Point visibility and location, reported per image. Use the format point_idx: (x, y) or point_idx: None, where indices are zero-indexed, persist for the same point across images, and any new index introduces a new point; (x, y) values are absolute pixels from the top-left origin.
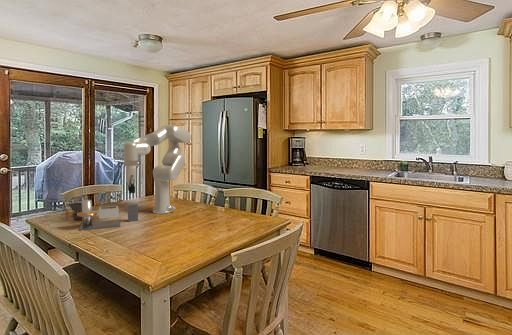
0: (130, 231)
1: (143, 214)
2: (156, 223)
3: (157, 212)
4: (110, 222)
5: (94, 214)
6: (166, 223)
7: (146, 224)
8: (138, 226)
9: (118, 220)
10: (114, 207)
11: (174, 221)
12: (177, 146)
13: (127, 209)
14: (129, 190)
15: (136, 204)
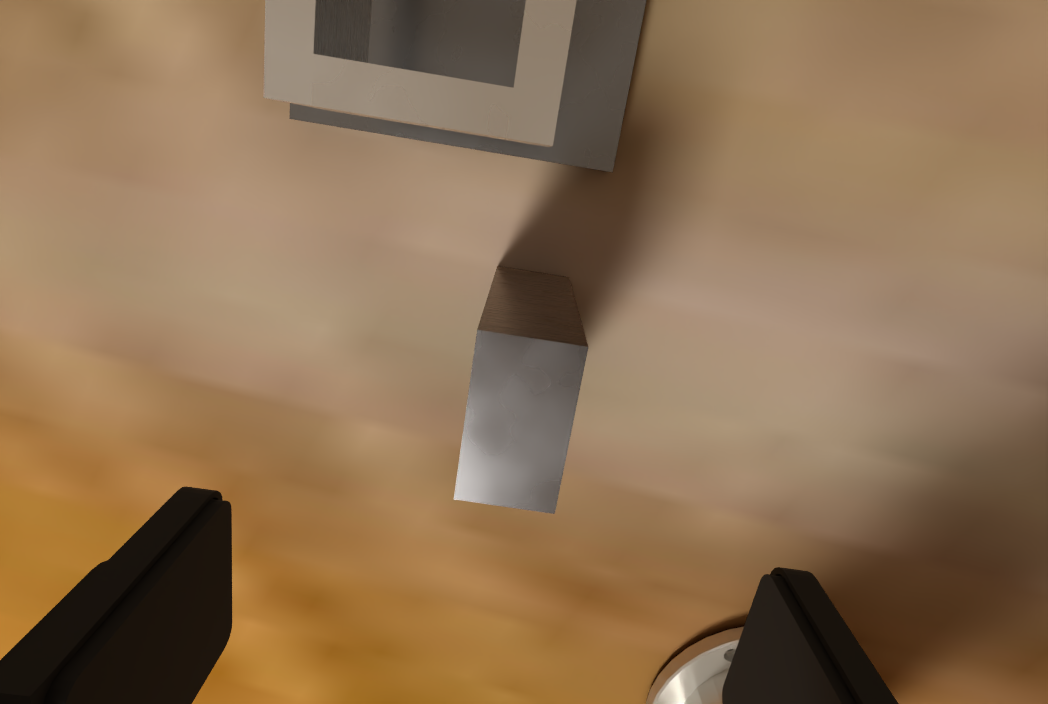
0: (14, 184)
1: (771, 515)
2: (258, 517)
3: (691, 656)
4: (498, 14)
5: None
6: None
7: (262, 419)
8: (210, 321)
9: (554, 149)
10: (519, 57)
11: (258, 674)
12: None
13: (572, 317)
14: (124, 552)
15: (482, 486)
